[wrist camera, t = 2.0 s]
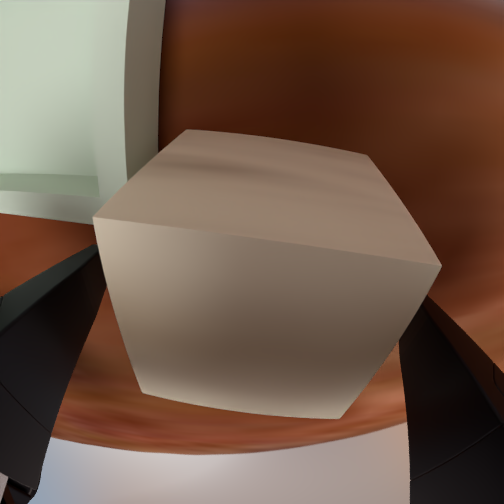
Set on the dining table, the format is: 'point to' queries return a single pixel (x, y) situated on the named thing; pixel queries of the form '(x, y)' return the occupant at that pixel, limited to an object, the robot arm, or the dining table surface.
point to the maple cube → (261, 273)
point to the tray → (76, 102)
